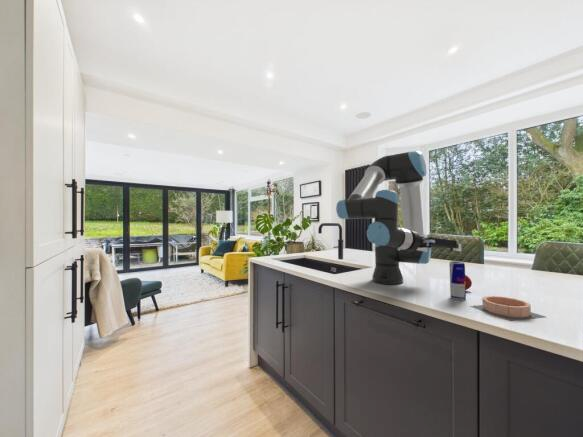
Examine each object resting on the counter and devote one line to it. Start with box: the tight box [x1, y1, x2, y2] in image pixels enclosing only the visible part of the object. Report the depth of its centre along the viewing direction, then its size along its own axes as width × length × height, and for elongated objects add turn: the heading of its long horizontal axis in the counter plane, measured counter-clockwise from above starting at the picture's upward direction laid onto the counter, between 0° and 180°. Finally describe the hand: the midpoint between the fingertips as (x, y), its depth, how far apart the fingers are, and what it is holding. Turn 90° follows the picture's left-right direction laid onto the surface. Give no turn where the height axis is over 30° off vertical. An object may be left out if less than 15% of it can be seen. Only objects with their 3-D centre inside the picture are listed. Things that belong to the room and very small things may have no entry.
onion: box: [465, 274, 473, 290], centre depth 112 cm, size 6×6×8 cm
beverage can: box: [448, 260, 467, 301], centre depth 100 cm, size 5×5×15 cm
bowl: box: [482, 295, 532, 318], centre depth 84 cm, size 12×12×3 cm
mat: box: [469, 304, 547, 322], centre depth 84 cm, size 14×14×1 cm
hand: (442, 248), depth 99 cm, fingers open, 13 cm apart
